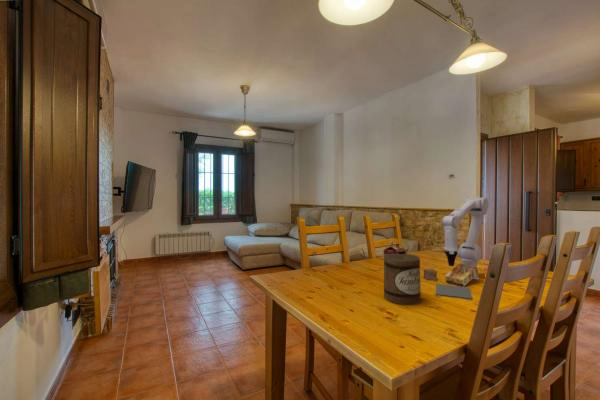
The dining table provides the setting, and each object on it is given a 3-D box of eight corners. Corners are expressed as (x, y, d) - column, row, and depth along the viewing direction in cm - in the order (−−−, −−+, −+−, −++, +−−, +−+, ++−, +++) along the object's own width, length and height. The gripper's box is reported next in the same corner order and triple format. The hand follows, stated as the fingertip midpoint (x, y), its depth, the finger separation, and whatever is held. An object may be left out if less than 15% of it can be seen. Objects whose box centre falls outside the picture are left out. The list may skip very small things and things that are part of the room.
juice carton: (400, 286, 137) (399, 241, 137) (398, 290, 131) (398, 244, 131) (386, 285, 140) (385, 241, 140) (384, 289, 134) (383, 243, 134)
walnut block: (423, 278, 151) (423, 268, 151) (433, 278, 151) (433, 268, 151) (426, 280, 147) (426, 271, 146) (436, 280, 146) (436, 271, 146)
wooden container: (403, 307, 111) (402, 252, 111) (376, 296, 124) (376, 247, 124) (428, 300, 118) (427, 248, 118) (400, 290, 131) (400, 244, 131)
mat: (436, 284, 139) (436, 283, 139) (468, 288, 133) (468, 287, 133) (435, 295, 125) (435, 293, 125) (472, 299, 118) (472, 298, 118)
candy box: (463, 287, 135) (478, 273, 143) (462, 279, 134) (477, 266, 142) (445, 282, 142) (460, 269, 150) (444, 274, 142) (459, 262, 150)
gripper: (442, 237, 151) (442, 262, 151) (442, 240, 138) (442, 268, 138) (457, 237, 148) (457, 263, 148) (458, 241, 135) (458, 269, 135)
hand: (451, 265), depth 143 cm, fingers closed
